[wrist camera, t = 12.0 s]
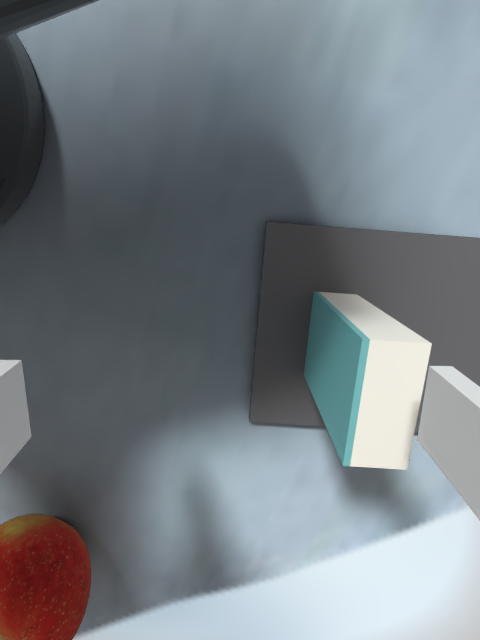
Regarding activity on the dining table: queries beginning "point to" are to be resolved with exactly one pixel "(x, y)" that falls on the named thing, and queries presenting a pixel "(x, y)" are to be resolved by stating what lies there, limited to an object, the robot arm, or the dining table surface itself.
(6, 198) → the robot arm
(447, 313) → the mat
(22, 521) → the apple
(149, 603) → the dining table surface
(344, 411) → the teal white block
